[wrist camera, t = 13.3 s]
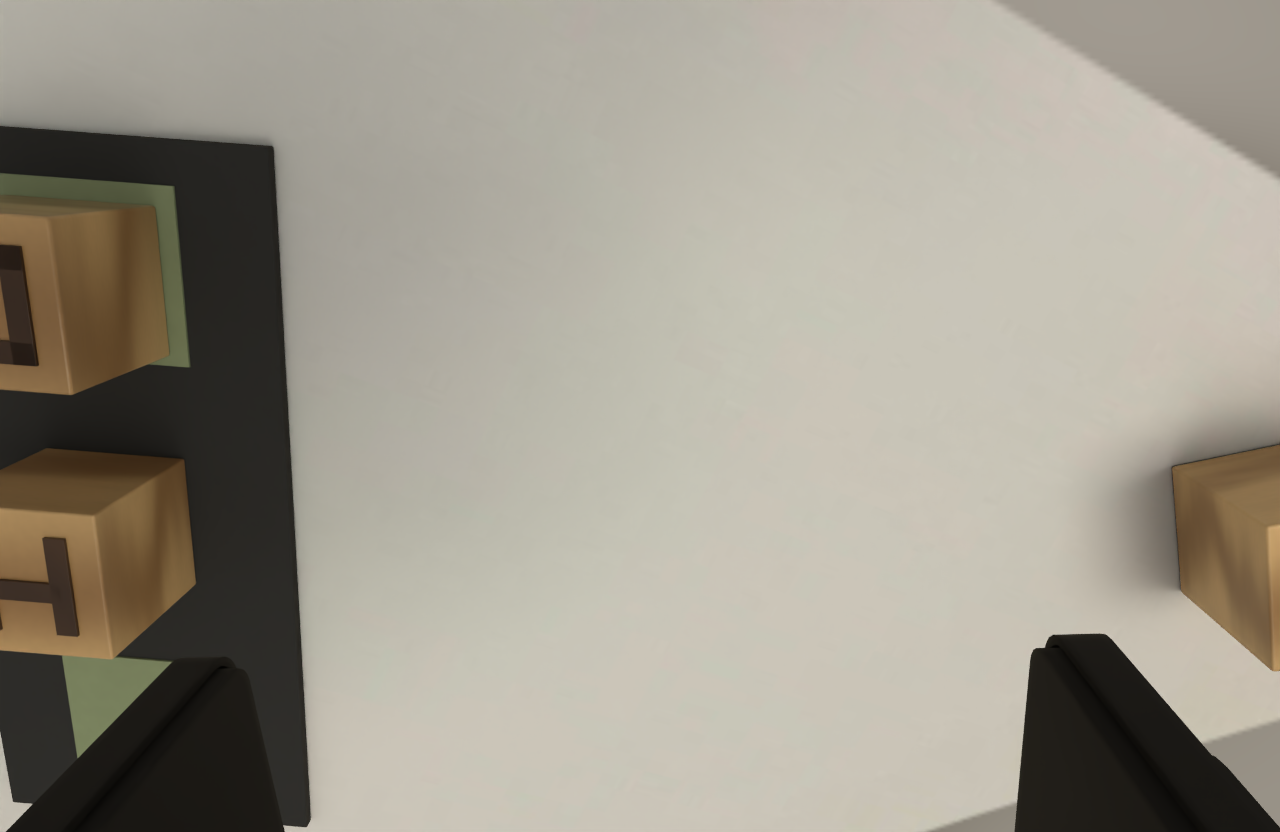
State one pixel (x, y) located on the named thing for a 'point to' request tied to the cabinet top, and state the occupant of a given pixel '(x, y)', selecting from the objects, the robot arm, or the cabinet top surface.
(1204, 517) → the tile
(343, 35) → the cabinet top surface
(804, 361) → the cabinet top surface
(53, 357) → the letter u block
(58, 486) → the letter h block
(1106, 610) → the cabinet top surface
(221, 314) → the word mat
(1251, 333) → the cabinet top surface
